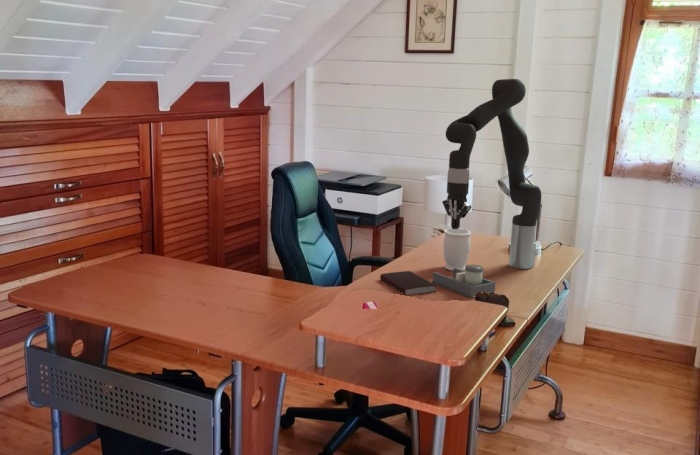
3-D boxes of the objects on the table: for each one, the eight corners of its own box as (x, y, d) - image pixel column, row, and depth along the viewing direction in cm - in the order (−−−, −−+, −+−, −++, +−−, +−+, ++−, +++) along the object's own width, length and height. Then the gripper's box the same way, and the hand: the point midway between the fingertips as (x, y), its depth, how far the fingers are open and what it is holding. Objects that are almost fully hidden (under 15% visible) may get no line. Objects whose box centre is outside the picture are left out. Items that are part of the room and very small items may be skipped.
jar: (460, 273, 259) (463, 235, 255) (437, 268, 265) (439, 231, 261) (473, 268, 267) (476, 231, 264) (450, 263, 273) (452, 227, 270)
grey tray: (455, 278, 253) (455, 268, 252) (494, 293, 237) (495, 282, 236) (432, 282, 246) (432, 272, 246) (470, 298, 230) (471, 287, 229)
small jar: (460, 288, 238) (461, 265, 236) (473, 285, 241) (474, 263, 240) (472, 293, 233) (473, 270, 231) (485, 290, 236) (487, 268, 235)
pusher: (472, 283, 243) (473, 270, 242) (475, 284, 242) (476, 271, 241) (455, 287, 238) (455, 273, 237) (458, 288, 237) (458, 274, 236)
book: (404, 297, 231) (404, 288, 230) (379, 281, 248) (380, 272, 248) (436, 293, 236) (436, 284, 235) (410, 278, 253) (410, 269, 252)
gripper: (437, 178, 241) (434, 226, 245) (463, 184, 230) (460, 233, 234) (453, 177, 245) (450, 224, 249) (479, 182, 235) (476, 231, 238)
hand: (455, 228), depth 242 cm, fingers closed
